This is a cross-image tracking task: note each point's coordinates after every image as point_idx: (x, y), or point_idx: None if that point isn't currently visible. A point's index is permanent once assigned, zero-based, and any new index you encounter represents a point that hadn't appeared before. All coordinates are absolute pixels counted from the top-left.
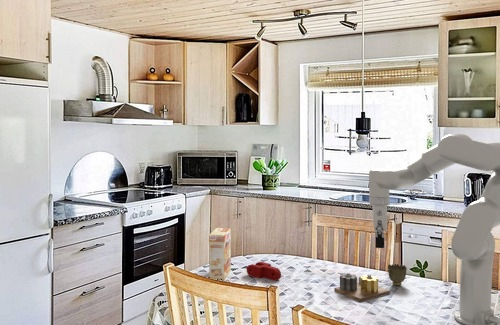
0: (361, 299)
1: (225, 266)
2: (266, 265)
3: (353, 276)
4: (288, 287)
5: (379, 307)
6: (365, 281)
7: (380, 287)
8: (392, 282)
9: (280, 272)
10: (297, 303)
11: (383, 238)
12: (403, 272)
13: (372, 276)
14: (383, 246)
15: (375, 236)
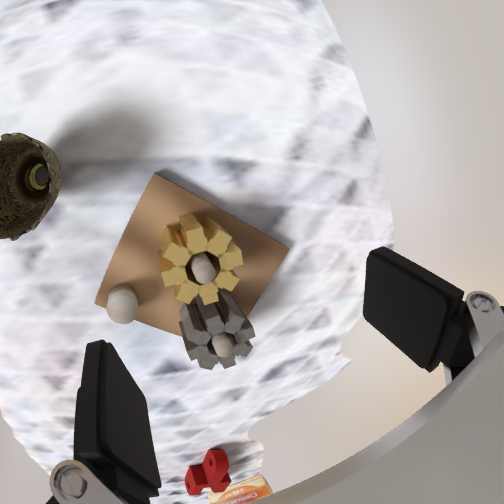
0: (282, 244)
1: (261, 493)
2: (210, 484)
3: (217, 328)
4: (249, 418)
5: (307, 177)
6: (231, 271)
7: (134, 219)
8: (44, 194)
9: (216, 460)
10: (335, 357)
11: (455, 294)
12: (37, 141)
13: (174, 263)
14: (390, 256)
15: (149, 449)
